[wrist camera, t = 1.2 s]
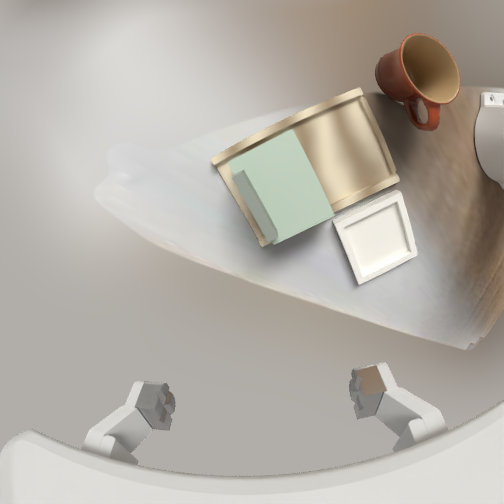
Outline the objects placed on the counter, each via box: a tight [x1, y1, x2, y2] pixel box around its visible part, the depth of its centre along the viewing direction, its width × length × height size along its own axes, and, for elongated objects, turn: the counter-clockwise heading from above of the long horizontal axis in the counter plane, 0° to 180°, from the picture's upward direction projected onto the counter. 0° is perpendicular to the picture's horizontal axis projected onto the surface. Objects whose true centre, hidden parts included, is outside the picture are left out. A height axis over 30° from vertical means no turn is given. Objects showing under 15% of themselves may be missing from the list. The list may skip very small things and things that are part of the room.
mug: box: [375, 33, 460, 131], centre depth 24 cm, size 12×9×10 cm
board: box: [210, 88, 400, 247], centre depth 34 cm, size 22×14×1 cm, turn 119°
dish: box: [332, 190, 418, 285], centre depth 37 cm, size 11×11×2 cm
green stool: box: [228, 129, 335, 245], centre depth 31 cm, size 8×11×8 cm
